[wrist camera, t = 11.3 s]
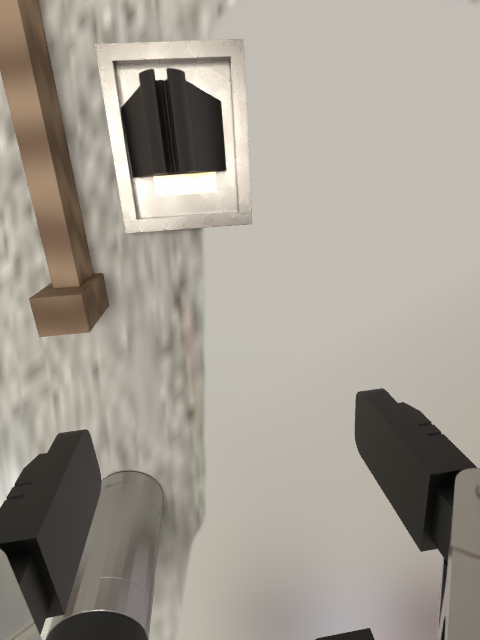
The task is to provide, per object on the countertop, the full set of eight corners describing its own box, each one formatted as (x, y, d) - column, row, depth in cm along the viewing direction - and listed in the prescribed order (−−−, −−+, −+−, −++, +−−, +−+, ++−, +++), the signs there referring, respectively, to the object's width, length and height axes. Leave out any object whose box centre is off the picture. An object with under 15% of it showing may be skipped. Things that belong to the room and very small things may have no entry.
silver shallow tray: (248, 221, 40) (252, 224, 37) (130, 229, 39) (125, 233, 36) (240, 49, 34) (243, 38, 32) (102, 54, 33) (94, 43, 31)
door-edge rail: (108, 305, 41) (89, 332, 34) (68, 308, 41) (39, 336, 34) (49, -5, 32) (3, -62, 24) (-5, -3, 31) (-69, -61, 24)
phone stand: (133, 178, 36) (104, 176, 25) (122, 107, 34) (85, 71, 23) (226, 171, 37) (239, 167, 26) (221, 102, 35) (232, 64, 23)
